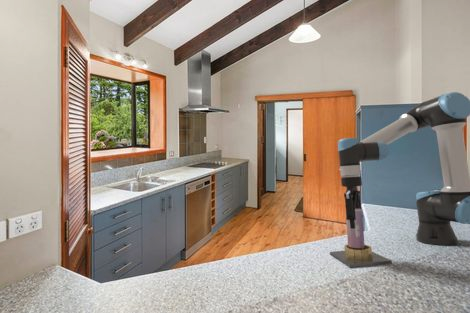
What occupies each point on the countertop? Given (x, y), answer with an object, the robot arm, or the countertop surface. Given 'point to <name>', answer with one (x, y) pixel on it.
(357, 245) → the beverage can
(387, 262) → the pipe socket
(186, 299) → the countertop surface
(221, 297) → the countertop surface
